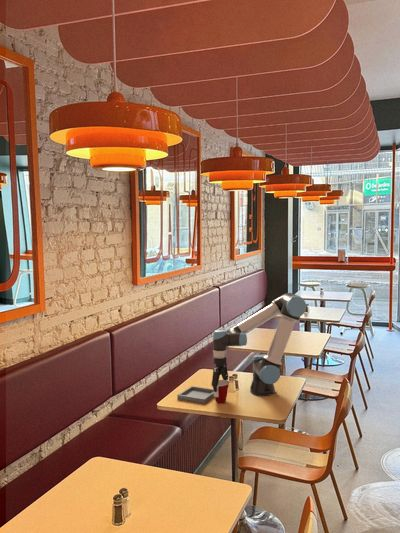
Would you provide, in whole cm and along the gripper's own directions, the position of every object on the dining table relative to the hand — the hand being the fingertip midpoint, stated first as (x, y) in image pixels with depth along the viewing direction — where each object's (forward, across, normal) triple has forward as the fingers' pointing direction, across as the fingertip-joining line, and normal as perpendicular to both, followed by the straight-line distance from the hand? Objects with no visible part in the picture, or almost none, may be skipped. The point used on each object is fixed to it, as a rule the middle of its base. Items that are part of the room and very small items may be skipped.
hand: (220, 393), depth 288 cm
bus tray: (+5, -2, -16) cm, 17 cm away
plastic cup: (+5, 0, 0) cm, 5 cm away
